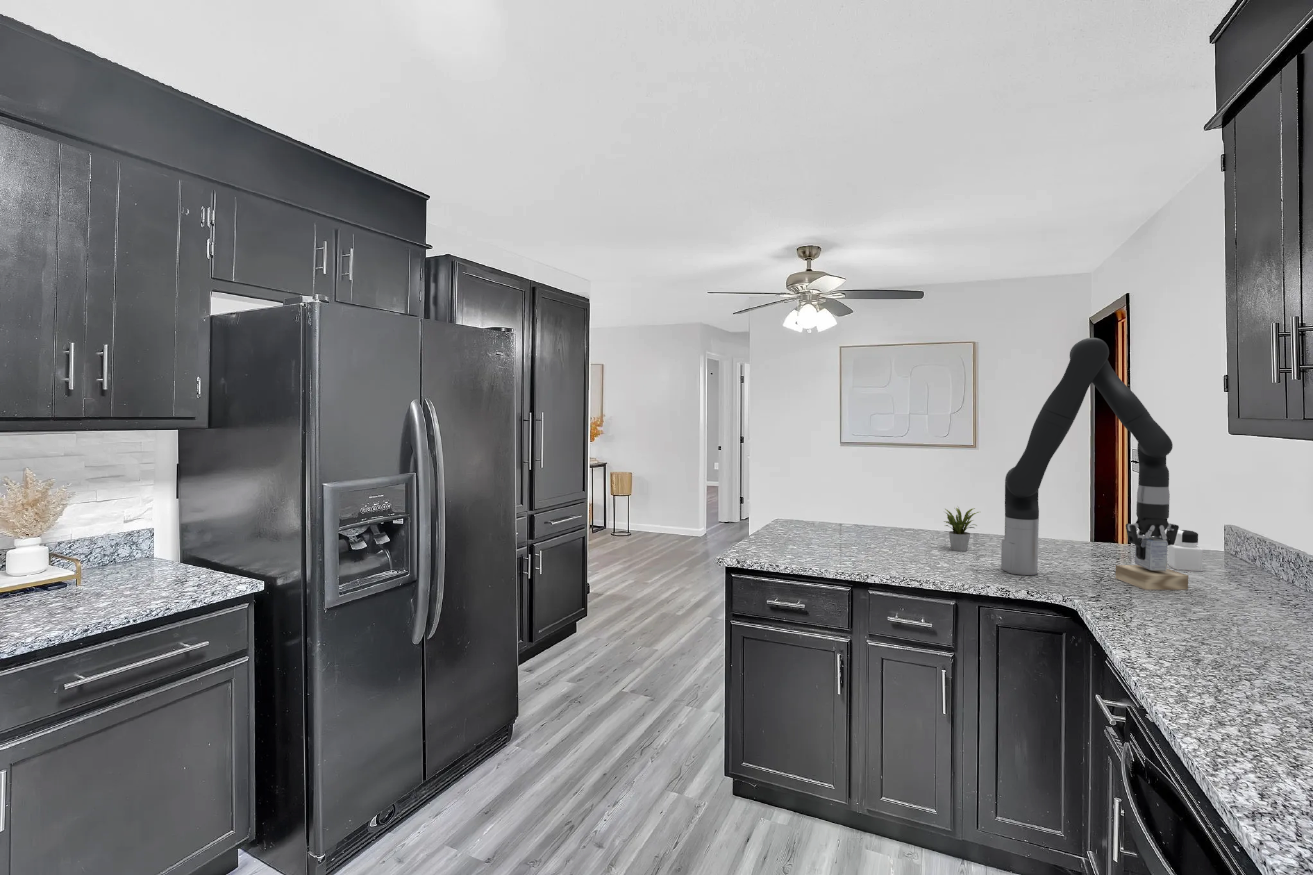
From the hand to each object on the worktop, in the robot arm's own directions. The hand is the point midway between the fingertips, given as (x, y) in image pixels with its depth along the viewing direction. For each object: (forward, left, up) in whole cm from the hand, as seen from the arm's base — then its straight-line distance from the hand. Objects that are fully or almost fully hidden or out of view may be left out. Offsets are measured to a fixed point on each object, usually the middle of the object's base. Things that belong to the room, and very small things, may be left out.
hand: (1150, 558), depth 188 cm
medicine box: (0, 0, -3) cm, 3 cm away
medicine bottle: (+24, +18, -8) cm, 31 cm away
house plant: (-34, +45, -7) cm, 57 cm away
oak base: (0, 0, -7) cm, 7 cm away
